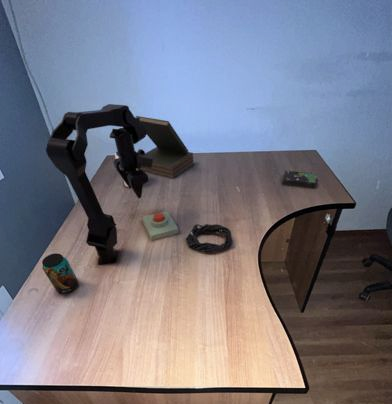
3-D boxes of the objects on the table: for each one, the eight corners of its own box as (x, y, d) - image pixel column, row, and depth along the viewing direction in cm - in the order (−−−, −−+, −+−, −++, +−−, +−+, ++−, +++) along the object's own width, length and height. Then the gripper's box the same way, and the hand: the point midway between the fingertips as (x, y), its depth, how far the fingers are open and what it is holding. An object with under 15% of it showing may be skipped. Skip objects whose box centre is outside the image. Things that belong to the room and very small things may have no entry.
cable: (238, 238, 100) (239, 229, 97) (222, 260, 92) (223, 251, 88) (198, 226, 106) (197, 217, 103) (180, 246, 98) (179, 237, 94)
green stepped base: (178, 233, 103) (178, 224, 100) (151, 240, 101) (150, 231, 98) (168, 215, 112) (167, 206, 109) (142, 221, 110) (141, 213, 107)
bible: (193, 164, 146) (191, 112, 128) (173, 178, 135) (167, 123, 117) (160, 156, 155) (154, 106, 137) (138, 169, 144) (128, 117, 126)
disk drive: (282, 185, 127) (314, 188, 124) (283, 179, 125) (316, 182, 122) (283, 175, 134) (314, 178, 130) (285, 170, 132) (316, 172, 128)
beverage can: (56, 298, 82) (38, 270, 73) (57, 282, 87) (40, 254, 78) (79, 292, 83) (64, 264, 75) (79, 277, 88) (65, 249, 79)
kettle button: (165, 221, 103) (164, 217, 102) (155, 223, 102) (154, 219, 101) (162, 215, 106) (161, 211, 104) (152, 218, 105) (152, 214, 103)
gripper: (159, 152, 85) (165, 197, 97) (137, 136, 97) (145, 178, 108) (126, 160, 82) (136, 206, 93) (108, 142, 93) (119, 185, 104)
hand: (135, 192), depth 100 cm, fingers open, 9 cm apart
